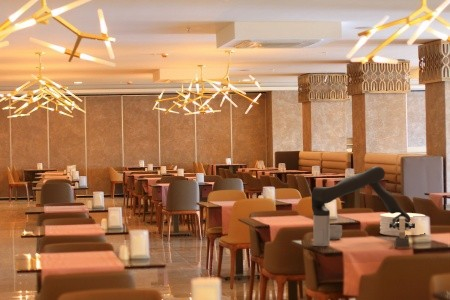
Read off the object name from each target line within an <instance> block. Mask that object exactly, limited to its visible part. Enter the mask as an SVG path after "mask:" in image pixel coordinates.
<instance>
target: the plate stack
mask: <svg viewBox="0 0 450 300" xmlns="http://www.w3.org/2000/svg"><path fill="white" fill-rule="evenodd" d="M406 213H407V214H408V215H409V216H410V217H413V216H425V217H426V215H425V214H422V213H415V212H413V213H412V212H406ZM399 214H401V213H399V212H397V213H393V214H391V213H390V212H387V213H386V212H385V213H380V214H379V221H380V222H379V225H380V226H379V230H380V231H379V233H380V234H382V235H385V236H395V237H396V236H399V230H398V229H396V228H395V229H394V228H393V227H392V228H389V223H390V222H392V220H393V218H394V217H396V216H398V215H399ZM392 223H393V222H392ZM406 230H408V229H406Z"/></svg>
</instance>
